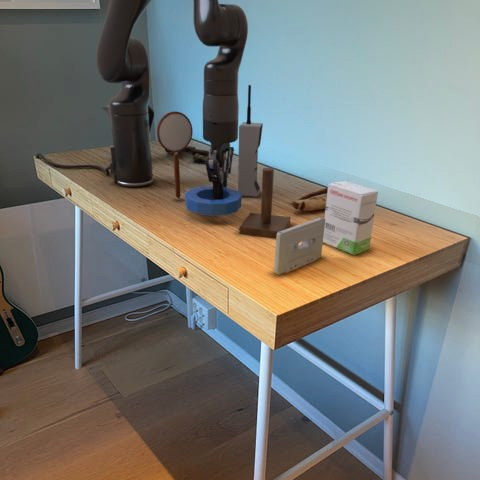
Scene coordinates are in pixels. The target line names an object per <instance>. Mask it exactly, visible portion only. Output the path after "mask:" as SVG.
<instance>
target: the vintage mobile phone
mask: <svg viewBox="0 0 480 480" xmlns="http://www.w3.org/2000/svg"><path fill="white" fill-rule="evenodd" d="M247 87H248V88H247V89H248V90H247V108H246V121H242V123H240V125H238V156H237V157H238V160H237V161H238V164H237V166H238V167H237V191H239V193H240V194H241V195H242V197H249V198H258V196H259V195H260V194H261V193H260V192H261V187H260V185H259V182H258V156H259V149H260V146H261V141H262V134H263V127H264V124H263V123H262V122H252V119H251V117H252V106H251V101H252V99H251V98H252V84H248V85H247Z"/></svg>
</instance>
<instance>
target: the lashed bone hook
mask: <svg viewBox="0 0 480 480" xmlns="http://www.w3.org/2000/svg"><path fill="white" fill-rule="evenodd" d="M327 192H328V187H325V188H321V189H317V190H314V191H311V192H308V193H306V194H304V195H302V196H301V197H299V198H297V199H296V200H294V201H293V202H292V208H293V209H294V210H300V211H304V212H309V211H319V210H326V200H327Z"/></svg>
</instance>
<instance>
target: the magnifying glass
mask: <svg viewBox="0 0 480 480" xmlns="http://www.w3.org/2000/svg"><path fill="white" fill-rule="evenodd" d="M158 121H159V122H158V124H157V126H156V138H157V141H158V144H159V145H160V146H161V147H162V148H163V149H164V150H165V149H166V150H167V151H170V152H171V153H173V172H174V173H173V174H174V192H175V197H176V201H178V202H179V201H180V200H181V195H182V194H181V177H180V172H181V171H180V154H179V153H180V152H179V151H182V150H183V149H185V148H186V147H187V146H190V143H191V141H192V139H193V134H194V133H193V132H194V131H193V125H192V122H191V120H190V119H189V117H188V116H187V115H186V114H184V112H181V111H177V110H176V111H170V112H167V113H166V114H164V115H162V117H161V119H159V120H158Z"/></svg>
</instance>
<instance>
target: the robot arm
mask: <svg viewBox="0 0 480 480" xmlns="http://www.w3.org/2000/svg"><path fill="white" fill-rule="evenodd" d="M152 2H153V0H109V3H108V7H107V12H106V16H105V19H104V22H103V27H102V29H101V32H100V35H99V39H98V41H97V46H96V53H95V54H96V55H95V63H96V68H97V72H98V74H99V76H100V78H101V79H102V80H104V82H106V83H109V84H121V85H120V86H121V87H120V90H118V93H116V94H115V95H114V96H113V97H112V98H111V99H110V100H109V102H108V105H109V110H110V117H109V119H110V126H111V135H112V144H111V145H110V146H109V149H110V157H111V162H109V166H106V168H104V167H102V166H100V165H97V164H75V165H74V164H73V165H72V164H71V165H69V164H67V165H66V164H59V163H56V162H54V161H51V160H49V159H47V158H46V157H45V156H44V155H43V154H42V153H37V154H36V156H35V158H36V159H38V158H39V159H40V158H41V159H42V160H43V161H44V162H45V163H48V164H49V165H52V166H55V167H57V168H62V169H63V168H64V169H80V168H82V169H83V168H93V169H99V170H100V171H101V172H103V173H104V174H105V175H106V176H109V175H110V174H111V175H113V183H114V184H115V185H116V184H117V185H118V186H121V187H127V188H141V187H147V186H149V185H152V184H154V173H153V161H152V148H151V135H150V133H151V132H150V133H149V120H148V106H149V103H150V100H151V99H150V98H151V86H150V85H151V84H150V83H151V81H150V80H151V79H150V61H149V60H150V59H149V55H148V51H147V49H146V46H145V44H144V43H143V42H142V41H141V40H140V39H138V38H137V37H132V33H133V31H134V28H135V26H136V24H137V22H138V21H139V19H140V17H141V16H142V15H143V14H144V12H145V11H146V9H147V8H148V7H149V6H150V4H151V3H152ZM192 13H193V15H192V16H193V17H192V19H193V20H192V21H193V28H194V31H195V35H196V37H197V38H198V40H199V42H201V44H203V45H204V46H206V47H210V48H214V47H215V48H217V47H218V51H217V54H216V57H215V58H213V59H211V60H208V61H207V62H206V63H205V64H204V66H203V98H202V139H203V140H204V141H205V142H209V143H210V149H208V151H209V158H210V159H206V161H205V163H204V164H205V168H206V173H207V174H206V175H207V180H208V183H212V186H213V198H214V199H218V200H221V199H222V198H223V187H228V179H229V177H230V176H229V175H230V174H231V172H232V164H233V159H234V152H235V148H234V146H231V144H232V143H234V142H237V140H239V114H240V113H239V112H240V111H239V109H240V104H239V72H240V67H241V65H242V62H243V61H242V60H243V57H244V52H245V48H246V45H247V40H248V36H249V35H248V34H249V23H248V19H247V16H246V13H245V11H244V9H243V8H242V7H241V6H239V5H237V4H234V3H233V4H232V3H231V4H230V3H219V0H193V11H192ZM109 170H110V171H109Z"/></svg>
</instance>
